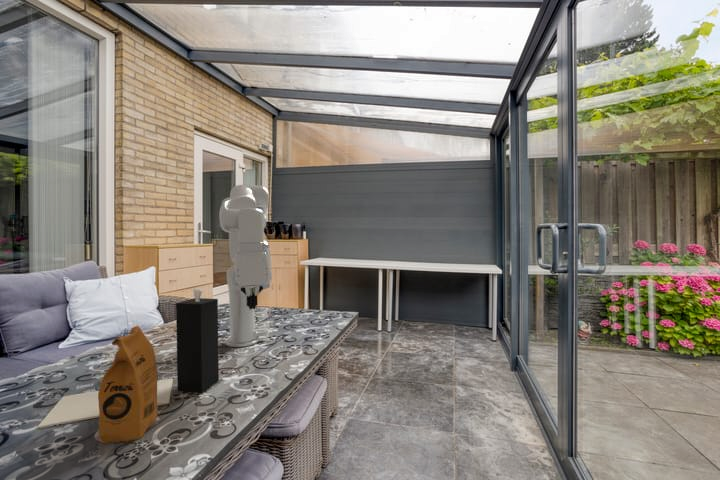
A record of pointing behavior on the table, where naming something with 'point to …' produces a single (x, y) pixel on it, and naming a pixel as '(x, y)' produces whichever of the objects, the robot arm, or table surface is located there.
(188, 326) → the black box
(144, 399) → the coffee package
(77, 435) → the table surface
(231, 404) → the table surface
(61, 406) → the mat
